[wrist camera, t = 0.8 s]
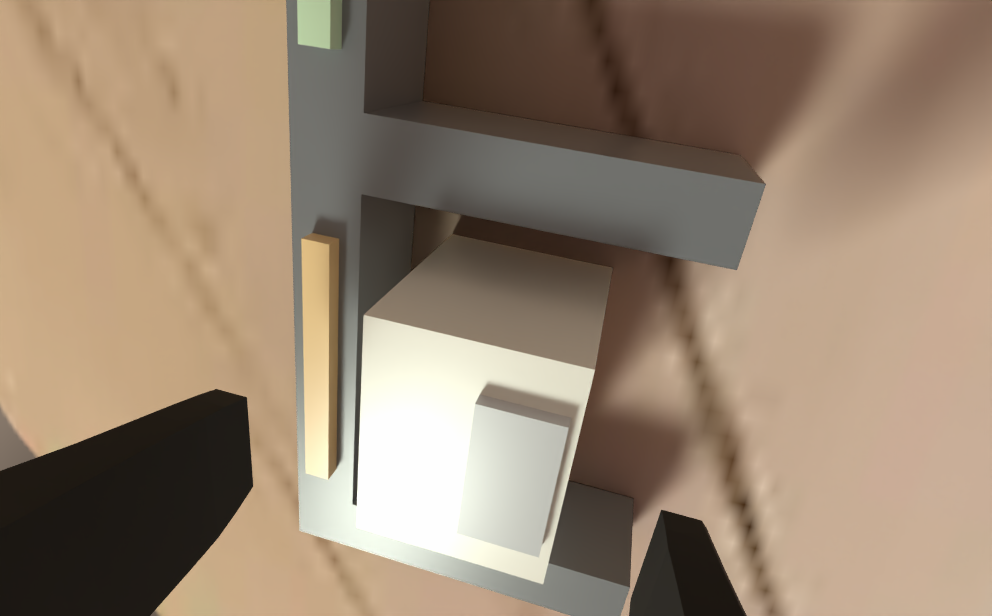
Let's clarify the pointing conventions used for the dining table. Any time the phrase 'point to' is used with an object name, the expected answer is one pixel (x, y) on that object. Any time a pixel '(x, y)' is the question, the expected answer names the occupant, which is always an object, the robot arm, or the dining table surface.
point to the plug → (477, 401)
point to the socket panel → (472, 192)
